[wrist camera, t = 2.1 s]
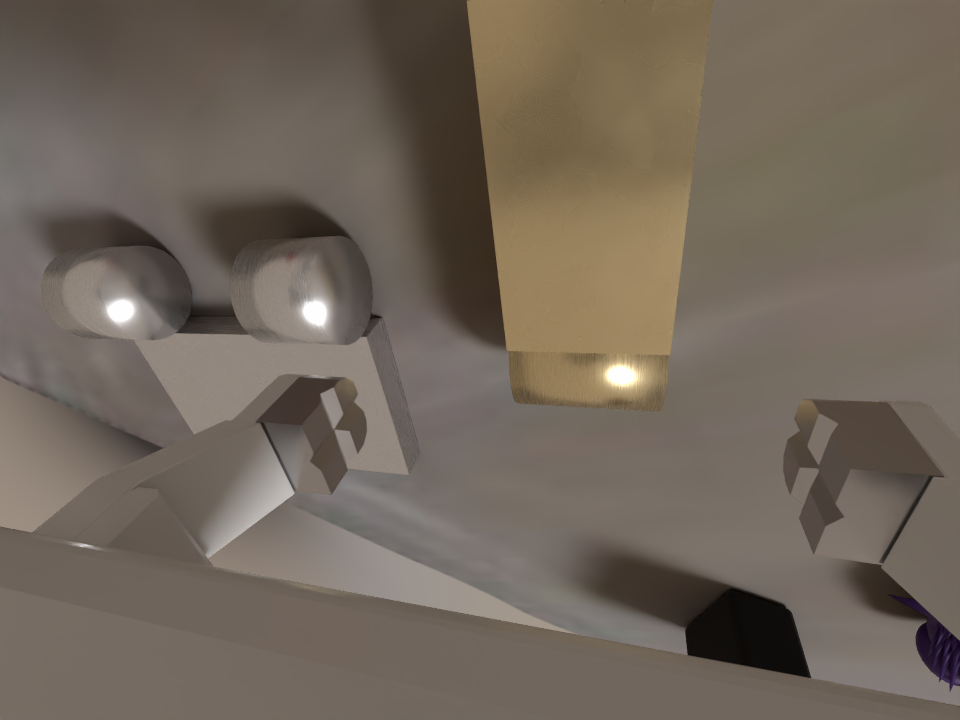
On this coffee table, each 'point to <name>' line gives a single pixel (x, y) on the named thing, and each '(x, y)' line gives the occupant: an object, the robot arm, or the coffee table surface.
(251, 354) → the plate with metal balls
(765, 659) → the battery
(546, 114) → the gold bar
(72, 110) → the coffee table surface
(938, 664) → the creature
